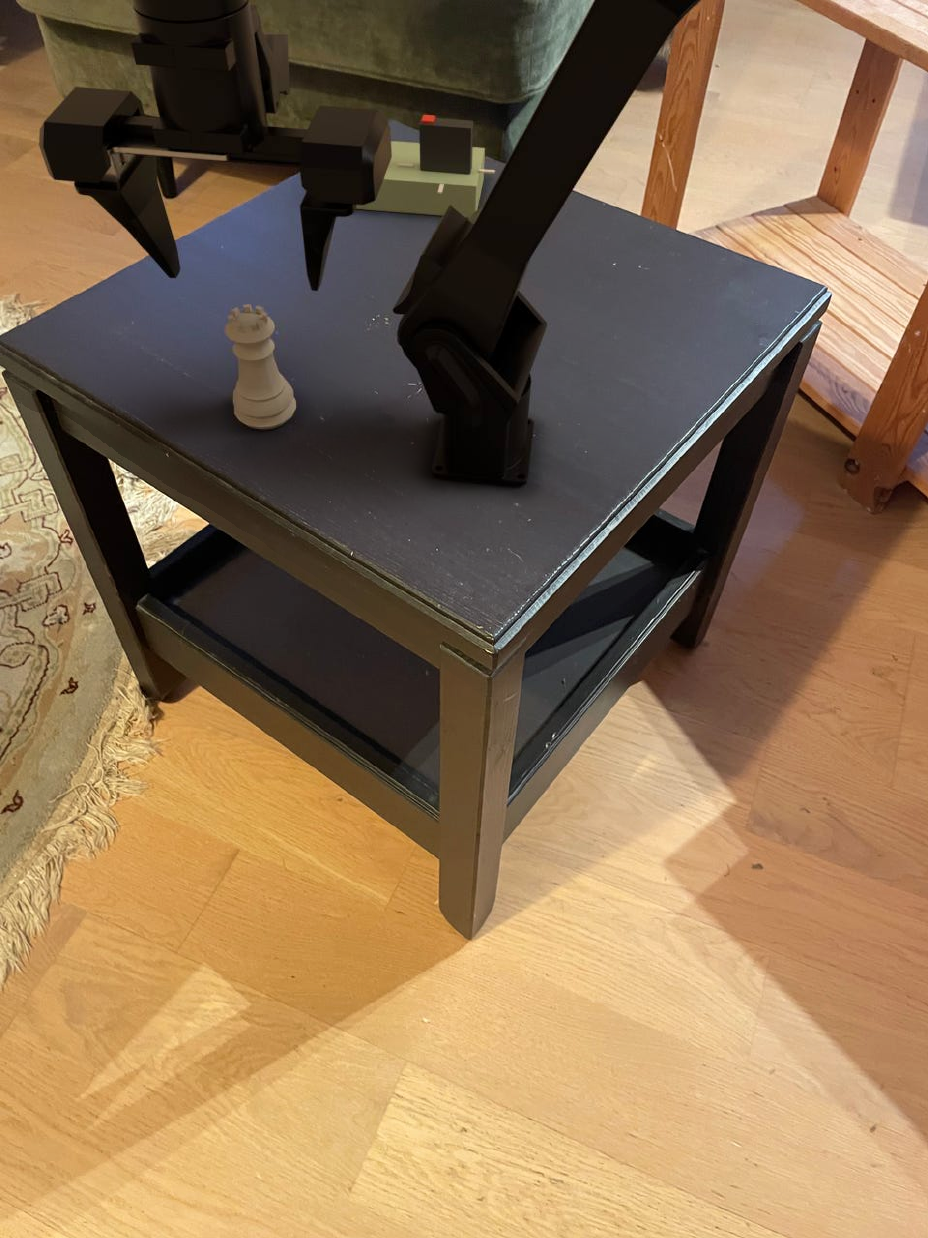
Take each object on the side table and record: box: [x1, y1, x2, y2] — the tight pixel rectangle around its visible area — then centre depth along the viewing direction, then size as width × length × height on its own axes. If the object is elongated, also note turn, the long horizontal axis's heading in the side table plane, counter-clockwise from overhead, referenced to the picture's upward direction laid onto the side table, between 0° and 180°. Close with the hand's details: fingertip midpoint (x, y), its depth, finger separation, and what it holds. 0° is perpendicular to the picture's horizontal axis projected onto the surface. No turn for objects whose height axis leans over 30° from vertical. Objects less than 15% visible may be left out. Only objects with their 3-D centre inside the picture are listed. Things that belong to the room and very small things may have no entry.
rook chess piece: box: [224, 303, 297, 431], centre depth 63 cm, size 4×4×8 cm
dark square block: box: [418, 114, 474, 174], centre depth 81 cm, size 4×1×4 cm, turn 82°
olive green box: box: [355, 140, 496, 219], centre depth 84 cm, size 9×13×3 cm, turn 83°
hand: (245, 280), depth 59 cm, fingers open, 9 cm apart
